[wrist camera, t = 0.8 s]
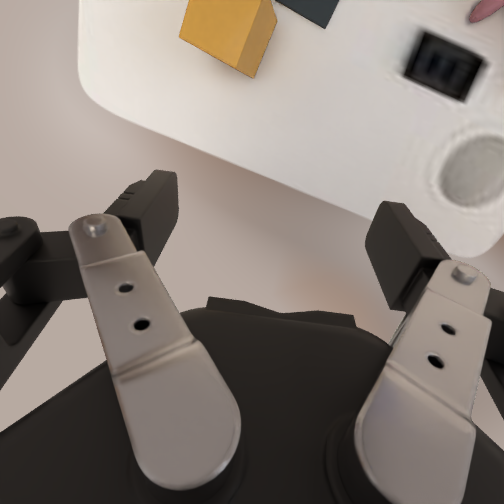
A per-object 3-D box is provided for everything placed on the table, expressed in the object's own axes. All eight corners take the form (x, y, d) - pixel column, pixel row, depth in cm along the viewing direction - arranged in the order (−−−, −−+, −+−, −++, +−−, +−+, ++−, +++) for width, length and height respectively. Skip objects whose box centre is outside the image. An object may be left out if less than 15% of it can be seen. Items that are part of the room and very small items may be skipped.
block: (231, -6, 28) (202, -50, 20) (277, 20, 28) (266, -13, 21) (211, 55, 31) (178, 36, 23) (253, 78, 31) (235, 68, 23)
